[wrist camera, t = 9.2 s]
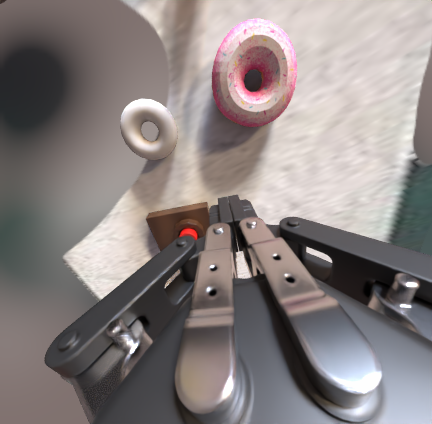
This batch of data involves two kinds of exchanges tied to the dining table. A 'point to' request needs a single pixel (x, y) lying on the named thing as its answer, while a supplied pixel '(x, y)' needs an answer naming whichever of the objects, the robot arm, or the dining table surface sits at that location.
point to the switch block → (178, 222)
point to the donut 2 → (250, 60)
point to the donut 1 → (154, 113)
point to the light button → (188, 233)
